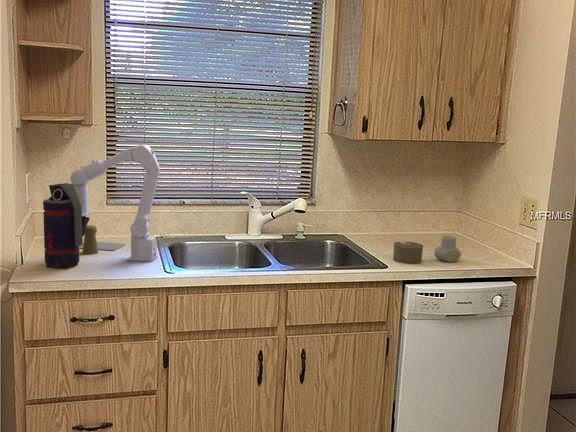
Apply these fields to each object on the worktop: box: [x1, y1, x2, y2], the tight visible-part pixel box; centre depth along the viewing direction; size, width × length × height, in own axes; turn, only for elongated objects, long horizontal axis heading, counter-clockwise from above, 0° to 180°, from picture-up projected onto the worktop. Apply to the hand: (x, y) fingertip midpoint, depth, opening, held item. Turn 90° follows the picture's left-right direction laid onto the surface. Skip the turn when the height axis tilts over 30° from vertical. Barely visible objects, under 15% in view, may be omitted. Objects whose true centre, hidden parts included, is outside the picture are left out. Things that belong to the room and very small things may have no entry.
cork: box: [82, 224, 99, 255], centre depth 242 cm, size 6×6×11 cm
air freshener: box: [433, 235, 462, 263], centre depth 255 cm, size 11×8×10 cm
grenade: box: [42, 182, 84, 270], centre depth 219 cm, size 14×12×30 cm
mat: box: [79, 241, 126, 252], centre depth 253 cm, size 16×12×1 cm
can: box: [392, 241, 424, 265], centre depth 252 cm, size 12×12×7 cm
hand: (80, 236), depth 233 cm, fingers closed
